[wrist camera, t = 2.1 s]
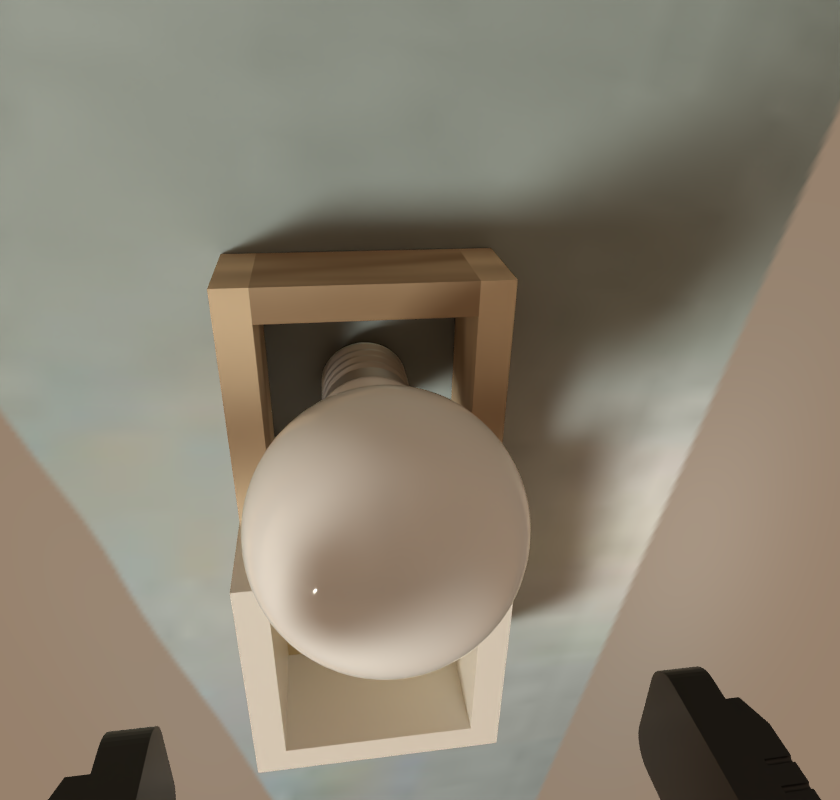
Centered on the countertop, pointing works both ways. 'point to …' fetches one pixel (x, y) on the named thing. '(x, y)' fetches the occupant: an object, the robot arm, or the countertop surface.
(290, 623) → the lightbulb
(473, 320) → the wooden frame
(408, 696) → the cream open cubby box
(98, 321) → the countertop surface
